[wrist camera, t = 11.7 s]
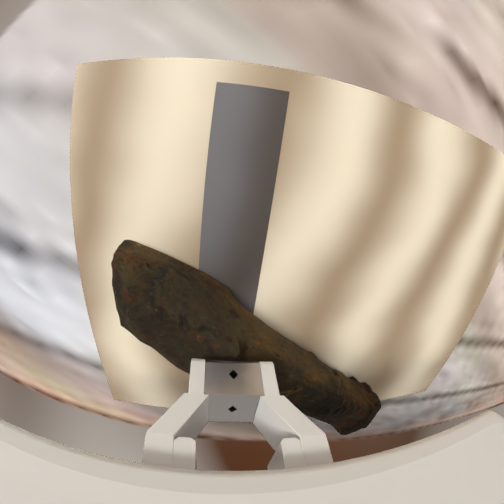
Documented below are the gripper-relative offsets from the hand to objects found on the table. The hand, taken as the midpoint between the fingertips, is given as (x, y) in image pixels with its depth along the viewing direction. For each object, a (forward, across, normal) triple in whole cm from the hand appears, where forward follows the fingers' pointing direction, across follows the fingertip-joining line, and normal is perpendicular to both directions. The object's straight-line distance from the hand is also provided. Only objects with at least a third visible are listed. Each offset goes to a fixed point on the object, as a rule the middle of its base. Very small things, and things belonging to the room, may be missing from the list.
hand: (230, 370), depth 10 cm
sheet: (+5, -6, 0) cm, 8 cm away
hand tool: (+5, -2, +3) cm, 7 cm away
